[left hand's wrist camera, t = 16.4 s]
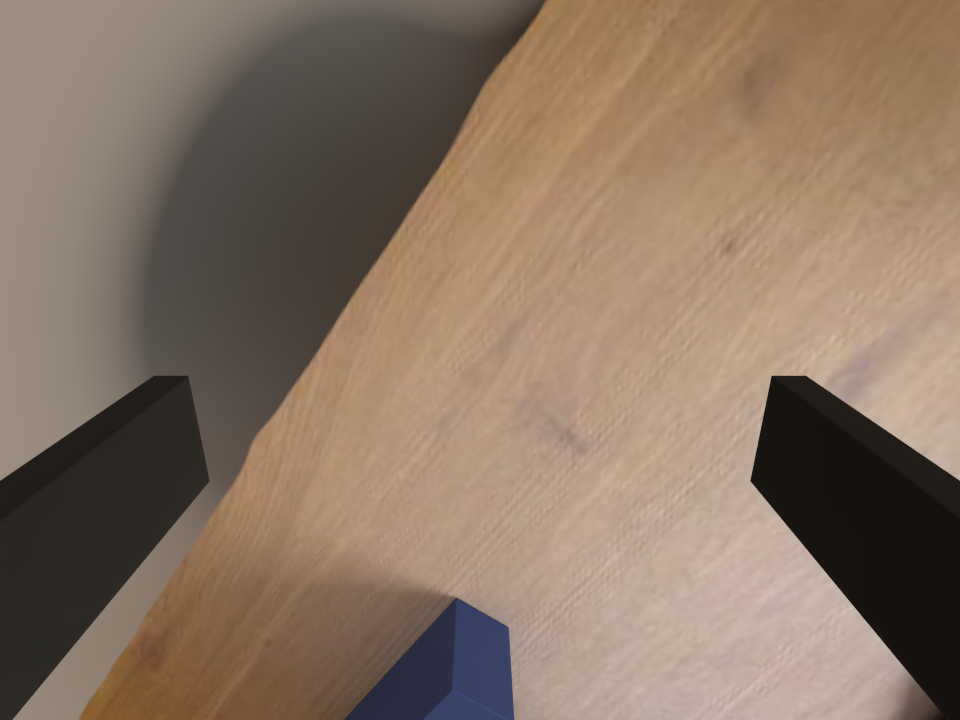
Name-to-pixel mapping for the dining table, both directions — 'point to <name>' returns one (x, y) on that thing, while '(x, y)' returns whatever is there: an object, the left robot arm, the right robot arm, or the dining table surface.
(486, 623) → the box
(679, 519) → the dining table surface
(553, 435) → the dining table surface
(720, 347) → the dining table surface
